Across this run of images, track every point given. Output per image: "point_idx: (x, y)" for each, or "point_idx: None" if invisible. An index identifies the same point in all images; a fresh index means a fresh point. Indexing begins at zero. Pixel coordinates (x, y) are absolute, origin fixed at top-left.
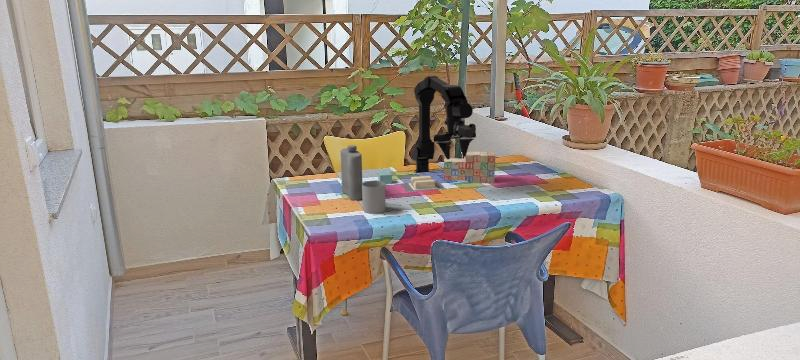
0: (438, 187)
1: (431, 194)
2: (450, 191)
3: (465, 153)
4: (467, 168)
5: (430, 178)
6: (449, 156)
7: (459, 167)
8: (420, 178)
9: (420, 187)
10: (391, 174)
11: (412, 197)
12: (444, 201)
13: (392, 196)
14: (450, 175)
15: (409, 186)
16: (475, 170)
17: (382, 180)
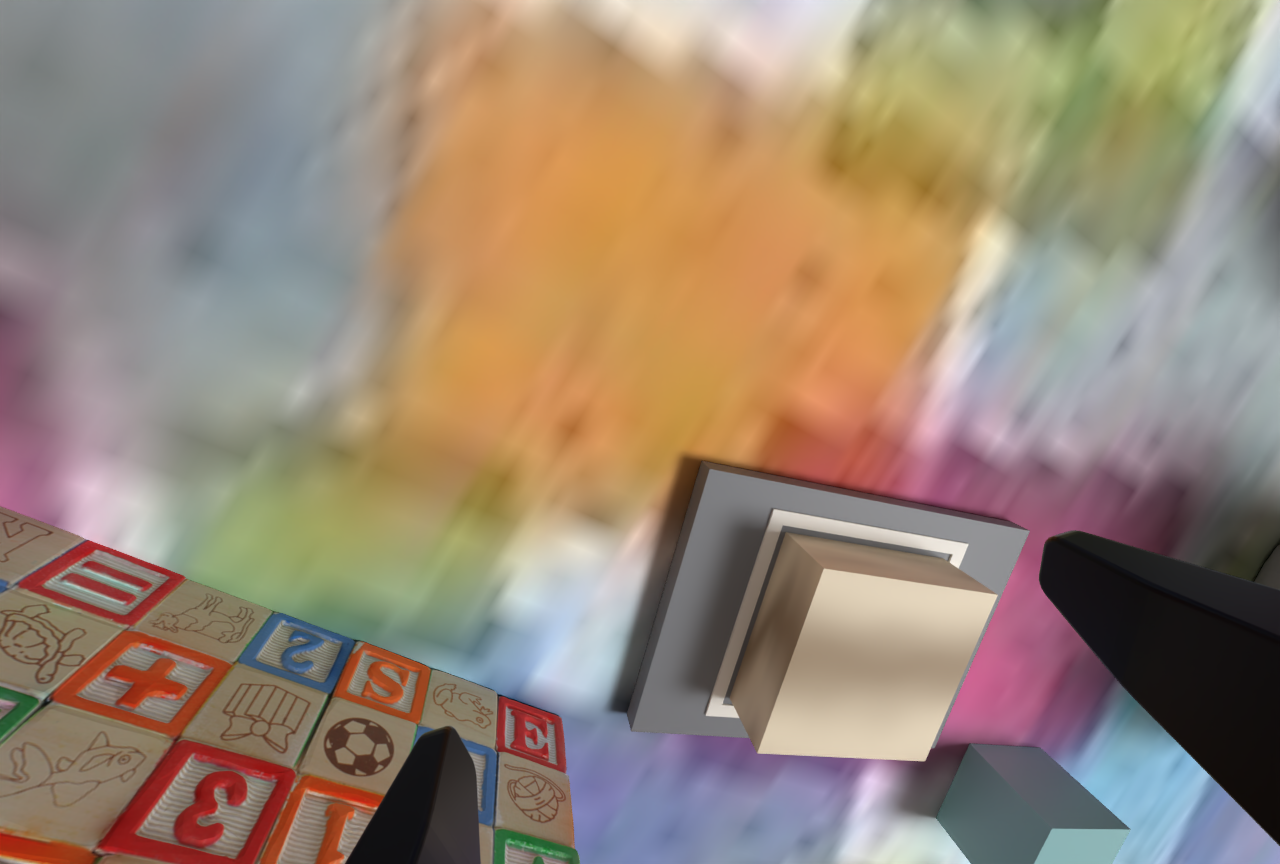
0: (745, 537)
1: (865, 427)
2: (664, 434)
3: (422, 808)
4: (268, 770)
5: (807, 665)
6: (1133, 564)
7: None
8: (885, 696)
9: (916, 560)
10: (1051, 835)
11: (1032, 422)
12: (898, 165)
13: (1119, 512)
14: (504, 753)
15: None
16: (148, 713)
17: (1072, 789)
